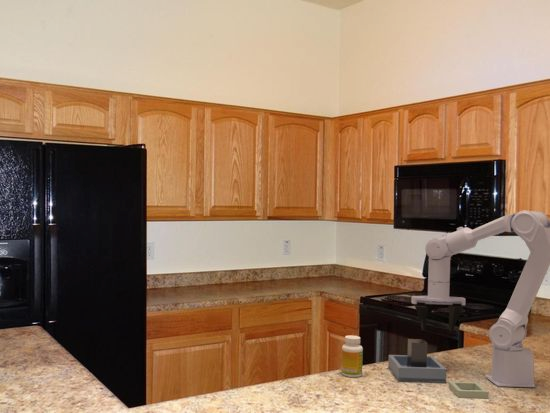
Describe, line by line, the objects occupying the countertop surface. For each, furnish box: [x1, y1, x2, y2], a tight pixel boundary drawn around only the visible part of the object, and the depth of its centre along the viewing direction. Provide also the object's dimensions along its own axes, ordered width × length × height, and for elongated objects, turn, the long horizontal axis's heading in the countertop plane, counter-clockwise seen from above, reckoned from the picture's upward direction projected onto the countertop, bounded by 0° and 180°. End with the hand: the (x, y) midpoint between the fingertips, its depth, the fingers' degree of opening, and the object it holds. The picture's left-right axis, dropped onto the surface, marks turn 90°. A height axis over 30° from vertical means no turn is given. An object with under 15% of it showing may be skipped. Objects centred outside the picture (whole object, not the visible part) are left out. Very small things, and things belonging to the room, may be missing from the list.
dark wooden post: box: [407, 338, 428, 367], centre depth 143 cm, size 4×4×8 cm
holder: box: [448, 380, 490, 399], centre depth 131 cm, size 7×7×2 cm
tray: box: [387, 354, 447, 384], centre depth 144 cm, size 12×12×4 cm
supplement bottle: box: [340, 334, 364, 378], centre depth 143 cm, size 5×5×10 cm
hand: (437, 330), depth 153 cm, fingers open, 7 cm apart
